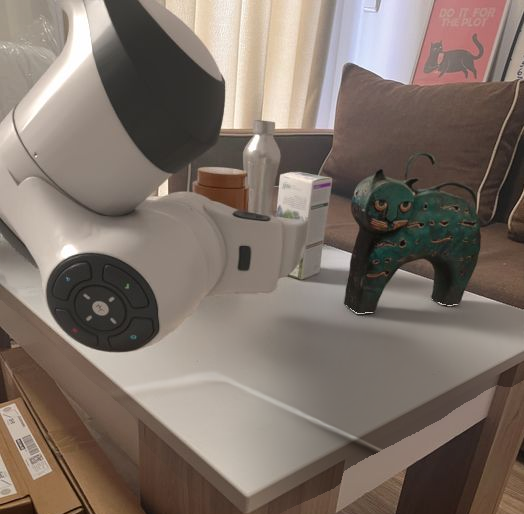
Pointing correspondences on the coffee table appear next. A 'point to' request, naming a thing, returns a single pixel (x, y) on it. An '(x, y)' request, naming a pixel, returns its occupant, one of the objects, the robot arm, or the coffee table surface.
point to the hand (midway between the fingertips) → (222, 215)
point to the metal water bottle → (261, 167)
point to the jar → (223, 186)
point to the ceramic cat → (410, 237)
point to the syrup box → (306, 214)
